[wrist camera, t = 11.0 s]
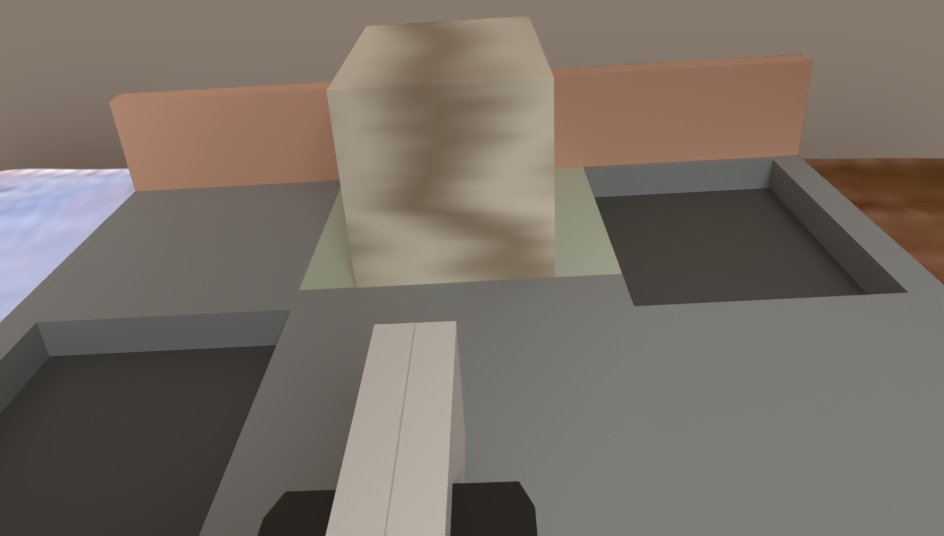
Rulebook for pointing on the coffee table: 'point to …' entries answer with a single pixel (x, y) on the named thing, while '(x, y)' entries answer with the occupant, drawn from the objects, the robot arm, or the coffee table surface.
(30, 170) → the coffee table surface
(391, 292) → the box
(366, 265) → the block
